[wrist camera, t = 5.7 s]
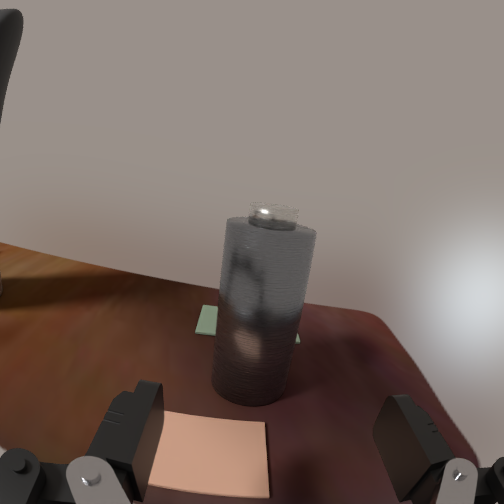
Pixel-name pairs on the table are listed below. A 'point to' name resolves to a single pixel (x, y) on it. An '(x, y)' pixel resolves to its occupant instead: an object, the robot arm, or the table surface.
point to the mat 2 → (211, 456)
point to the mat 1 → (212, 321)
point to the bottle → (260, 303)
